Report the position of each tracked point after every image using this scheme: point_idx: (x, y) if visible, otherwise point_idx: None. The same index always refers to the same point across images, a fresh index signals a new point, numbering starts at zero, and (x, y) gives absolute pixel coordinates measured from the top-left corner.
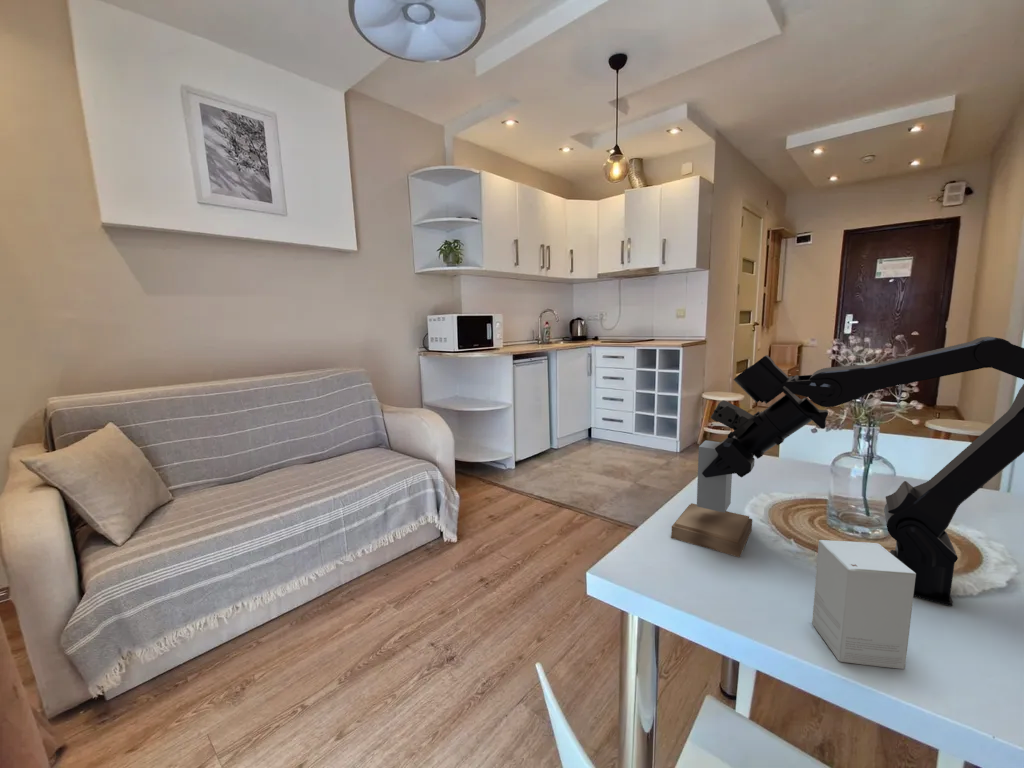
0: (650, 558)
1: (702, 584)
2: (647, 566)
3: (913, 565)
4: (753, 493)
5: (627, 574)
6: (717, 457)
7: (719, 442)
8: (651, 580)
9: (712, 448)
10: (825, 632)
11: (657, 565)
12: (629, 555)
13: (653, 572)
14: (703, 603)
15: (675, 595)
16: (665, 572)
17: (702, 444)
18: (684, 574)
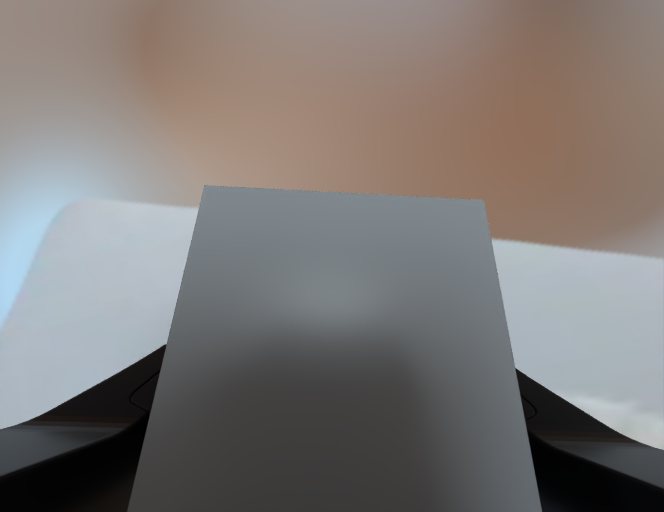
0: (156, 257)
1: (88, 373)
2: (123, 260)
3: None
4: (652, 399)
5: (81, 239)
6: (50, 415)
7: (498, 353)
8: (73, 281)
9: (172, 328)
10: None
11: (133, 275)
12: (152, 221)
13: (104, 276)
14: (16, 390)
15: (31, 334)
16: (111, 296)
17: (304, 202)
18: (116, 330)
